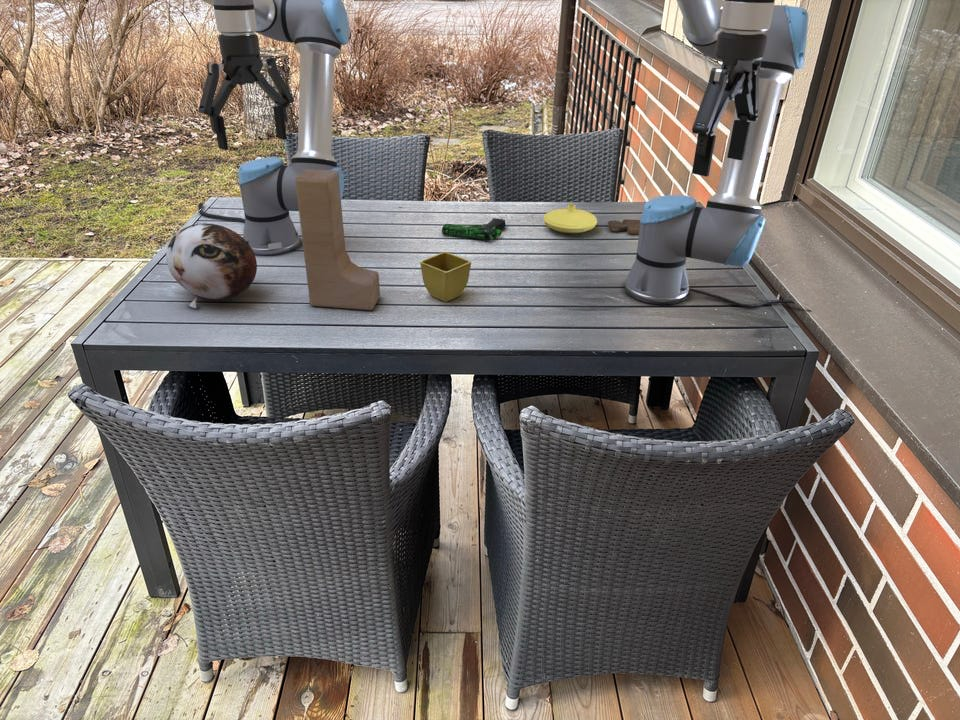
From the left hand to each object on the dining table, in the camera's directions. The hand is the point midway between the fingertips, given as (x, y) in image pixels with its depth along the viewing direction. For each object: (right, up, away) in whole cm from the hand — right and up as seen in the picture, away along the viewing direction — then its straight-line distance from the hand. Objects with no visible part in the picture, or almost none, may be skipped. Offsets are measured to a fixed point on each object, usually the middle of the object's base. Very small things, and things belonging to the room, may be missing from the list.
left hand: (253, 143), depth 151 cm
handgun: (+47, -9, +57) cm, 74 cm away
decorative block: (+16, -32, +17) cm, 40 cm away
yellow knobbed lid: (+74, -7, +60) cm, 96 cm away
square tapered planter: (+40, -30, +20) cm, 54 cm away
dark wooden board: (+99, -7, +61) cm, 116 cm away
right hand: (+89, -12, -28) cm, 94 cm away
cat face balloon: (-14, -31, +19) cm, 38 cm away
